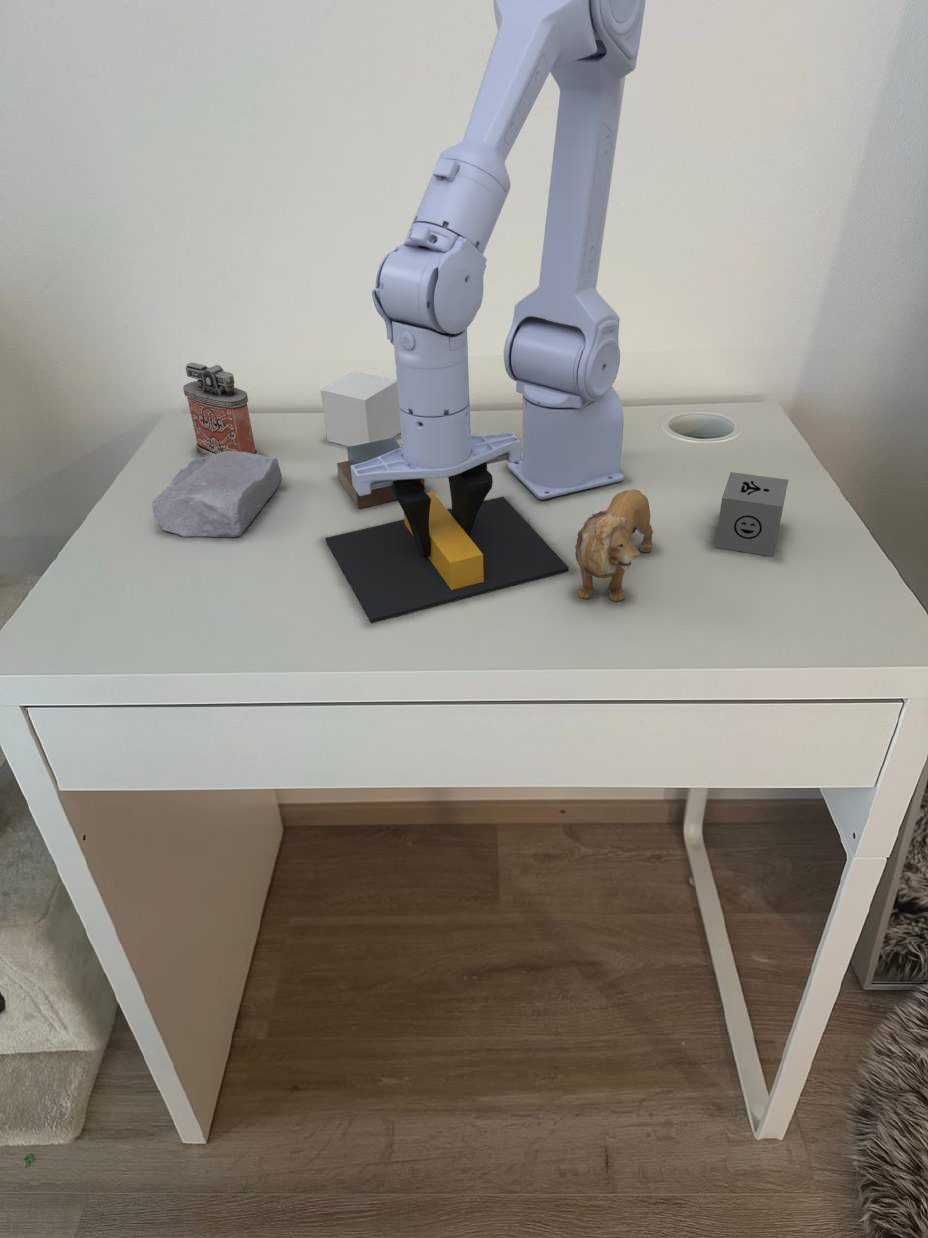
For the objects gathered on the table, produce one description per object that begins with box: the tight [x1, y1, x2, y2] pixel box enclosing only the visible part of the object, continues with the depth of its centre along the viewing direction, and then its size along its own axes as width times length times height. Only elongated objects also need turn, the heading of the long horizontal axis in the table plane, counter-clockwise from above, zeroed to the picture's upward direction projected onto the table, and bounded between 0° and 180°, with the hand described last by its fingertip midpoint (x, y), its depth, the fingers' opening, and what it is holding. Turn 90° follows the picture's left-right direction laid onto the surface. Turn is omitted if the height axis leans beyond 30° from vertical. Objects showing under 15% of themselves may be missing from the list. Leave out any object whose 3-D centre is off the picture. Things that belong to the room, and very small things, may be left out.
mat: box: [325, 496, 570, 624], centre depth 84 cm, size 18×14×1 cm
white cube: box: [320, 370, 401, 447], centre depth 103 cm, size 6×6×6 cm
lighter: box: [182, 362, 259, 457], centre depth 99 cm, size 8×3×10 cm, turn 58°
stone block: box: [151, 451, 282, 538], centre depth 92 cm, size 12×5×10 cm
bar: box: [403, 491, 484, 590], centre depth 83 cm, size 12×3×3 cm, turn 22°
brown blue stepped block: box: [336, 437, 426, 509], centre depth 94 cm, size 7×7×4 cm
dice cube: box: [714, 471, 789, 558], centre depth 83 cm, size 5×5×5 cm
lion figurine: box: [575, 488, 654, 602], centre depth 78 cm, size 15×5×9 cm, turn 163°
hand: (442, 546), depth 83 cm, fingers closed on bar, 3 cm apart
